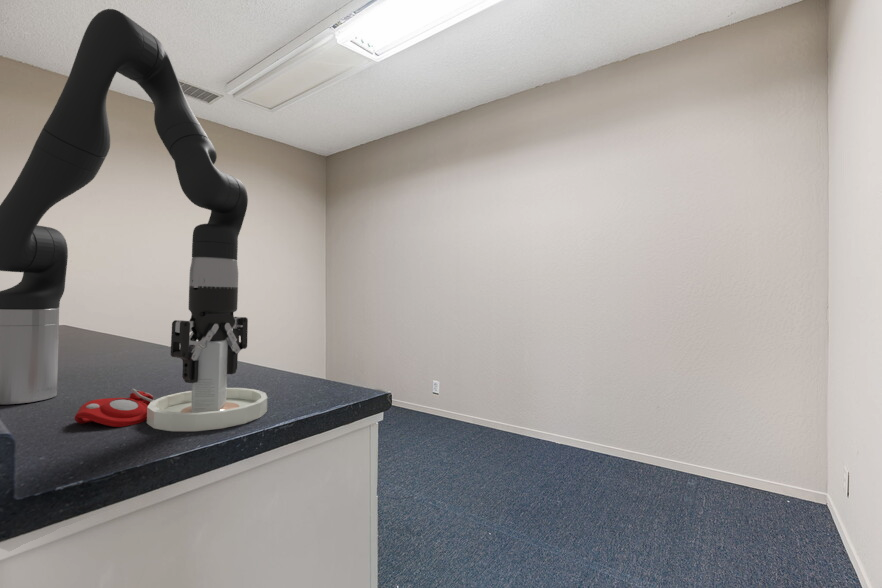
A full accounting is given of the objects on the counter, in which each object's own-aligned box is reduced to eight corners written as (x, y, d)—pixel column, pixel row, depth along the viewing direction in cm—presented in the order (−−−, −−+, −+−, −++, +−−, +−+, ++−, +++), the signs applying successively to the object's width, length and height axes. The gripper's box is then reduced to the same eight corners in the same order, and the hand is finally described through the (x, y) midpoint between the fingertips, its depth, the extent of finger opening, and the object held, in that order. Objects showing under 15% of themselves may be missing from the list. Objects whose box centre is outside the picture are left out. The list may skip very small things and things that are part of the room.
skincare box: (200, 404, 75) (202, 338, 75) (226, 403, 76) (228, 338, 76) (189, 414, 69) (192, 342, 69) (217, 413, 70) (220, 342, 70)
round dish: (120, 422, 67) (121, 406, 67) (212, 397, 84) (213, 384, 84) (207, 437, 62) (208, 420, 62) (287, 407, 79) (287, 393, 79)
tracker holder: (152, 418, 67) (73, 411, 62) (144, 443, 67) (65, 438, 62) (160, 386, 77) (93, 377, 72) (153, 407, 78) (86, 401, 72)
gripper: (229, 285, 81) (226, 369, 81) (159, 283, 67) (156, 384, 67) (260, 286, 79) (258, 372, 79) (195, 284, 65) (192, 388, 65)
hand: (211, 377), depth 73 cm, fingers open, 7 cm apart
